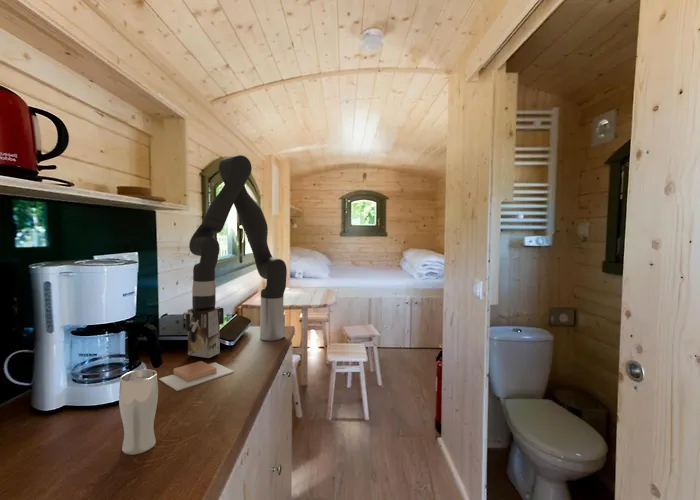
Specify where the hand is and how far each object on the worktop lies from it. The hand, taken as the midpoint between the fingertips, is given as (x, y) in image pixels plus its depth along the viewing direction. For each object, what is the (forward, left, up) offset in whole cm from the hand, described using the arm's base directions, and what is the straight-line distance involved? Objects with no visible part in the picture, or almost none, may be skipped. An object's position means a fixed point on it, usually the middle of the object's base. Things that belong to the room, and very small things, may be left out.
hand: (203, 339), depth 128 cm
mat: (+10, +15, -6) cm, 19 cm away
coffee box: (0, 0, -5) cm, 5 cm away
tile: (+10, +8, -5) cm, 14 cm away
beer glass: (+36, +39, -6) cm, 53 cm away
